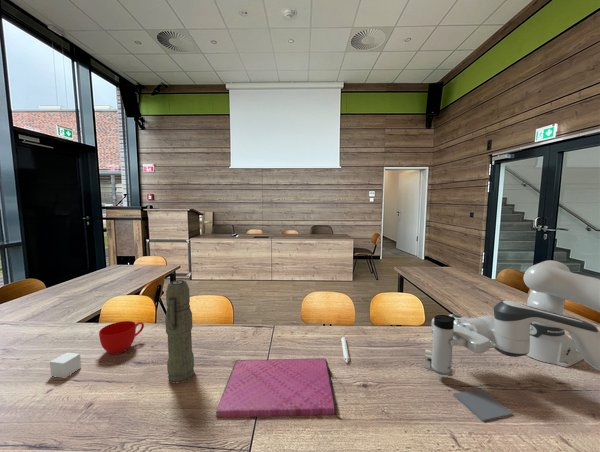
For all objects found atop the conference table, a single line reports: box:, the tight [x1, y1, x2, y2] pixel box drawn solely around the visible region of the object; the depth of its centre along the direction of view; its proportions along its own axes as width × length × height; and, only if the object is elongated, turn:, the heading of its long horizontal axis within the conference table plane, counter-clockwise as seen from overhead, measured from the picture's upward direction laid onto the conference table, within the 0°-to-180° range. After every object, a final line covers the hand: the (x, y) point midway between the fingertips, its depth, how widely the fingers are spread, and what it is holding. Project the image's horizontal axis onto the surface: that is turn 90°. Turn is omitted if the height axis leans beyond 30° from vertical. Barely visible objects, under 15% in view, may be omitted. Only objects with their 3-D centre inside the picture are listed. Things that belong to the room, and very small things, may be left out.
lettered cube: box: [423, 349, 433, 371], centre depth 103 cm, size 5×5×5 cm
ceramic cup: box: [98, 320, 145, 355], centre depth 115 cm, size 13×17×10 cm
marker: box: [341, 336, 350, 364], centre depth 113 cm, size 18×2×2 cm, turn 175°
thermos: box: [164, 279, 195, 384], centre depth 96 cm, size 9×12×35 cm
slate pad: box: [452, 388, 514, 423], centre depth 83 cm, size 11×11×1 cm
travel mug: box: [431, 314, 455, 376], centre depth 95 cm, size 6×7×20 cm
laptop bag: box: [215, 358, 347, 418], centre depth 92 cm, size 40×4×27 cm
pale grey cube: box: [49, 352, 82, 379], centre depth 99 cm, size 6×6×6 cm
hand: (441, 337), depth 94 cm, fingers closed on travel mug, 6 cm apart
